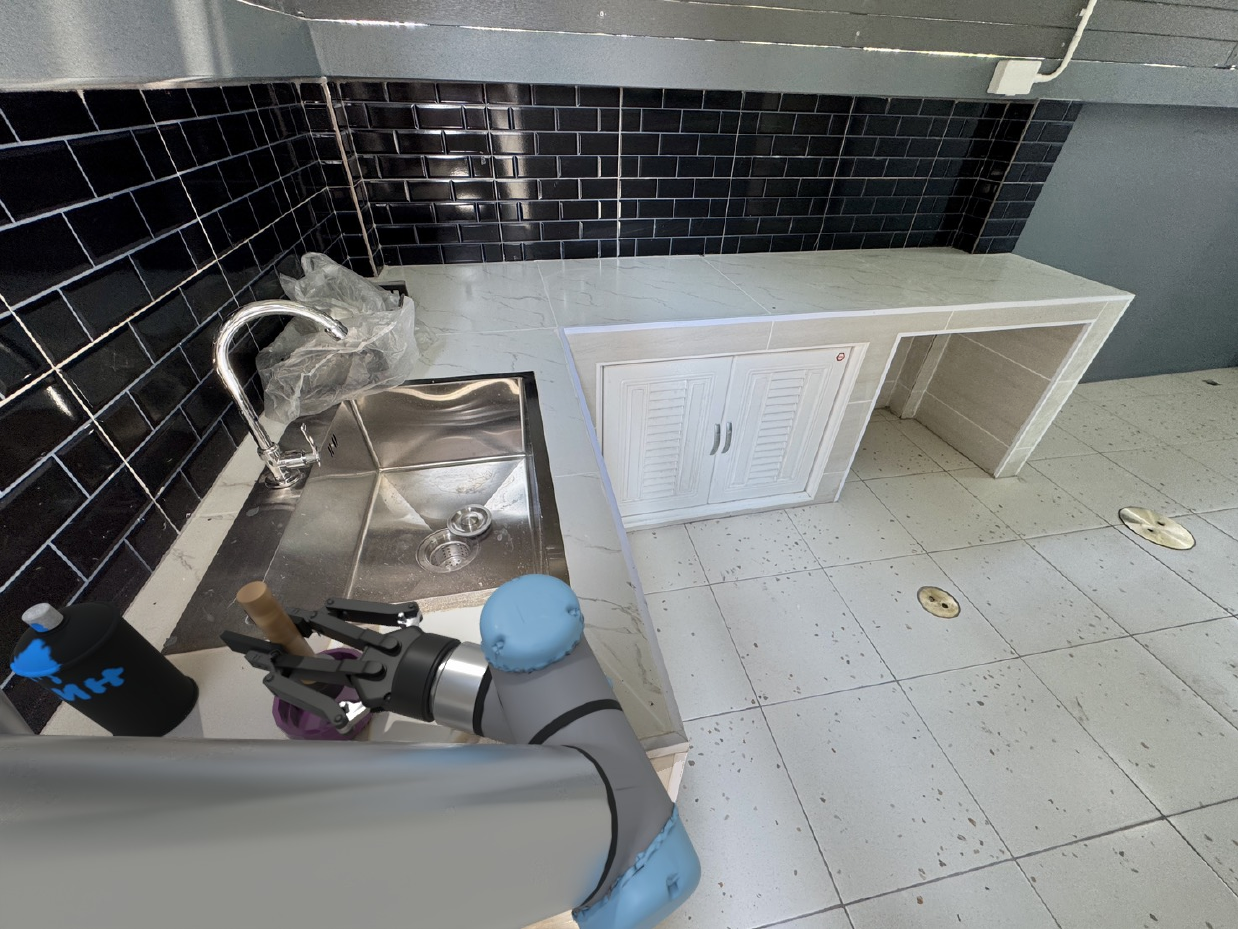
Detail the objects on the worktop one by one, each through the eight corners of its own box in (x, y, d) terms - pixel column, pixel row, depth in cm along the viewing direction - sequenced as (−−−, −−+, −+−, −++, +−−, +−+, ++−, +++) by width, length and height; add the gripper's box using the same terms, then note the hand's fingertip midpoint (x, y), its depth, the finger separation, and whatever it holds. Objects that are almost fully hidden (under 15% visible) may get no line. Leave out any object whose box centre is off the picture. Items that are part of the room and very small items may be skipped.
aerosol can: (142, 678, 63) (23, 578, 50) (212, 673, 63) (112, 573, 50) (95, 749, 56) (-55, 655, 44) (174, 743, 57) (49, 648, 44)
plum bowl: (304, 773, 55) (287, 757, 52) (277, 702, 61) (261, 683, 58) (395, 711, 60) (385, 693, 57) (363, 650, 66) (352, 631, 63)
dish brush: (307, 717, 55) (226, 624, 43) (294, 685, 58) (215, 589, 46) (352, 689, 57) (287, 593, 46) (337, 659, 60) (273, 562, 48)
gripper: (415, 784, 45) (195, 718, 49) (490, 632, 56) (307, 589, 60) (392, 749, 40) (150, 680, 44) (478, 591, 51) (280, 547, 55)
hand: (241, 627), depth 52 cm, fingers closed on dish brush, 2 cm apart
